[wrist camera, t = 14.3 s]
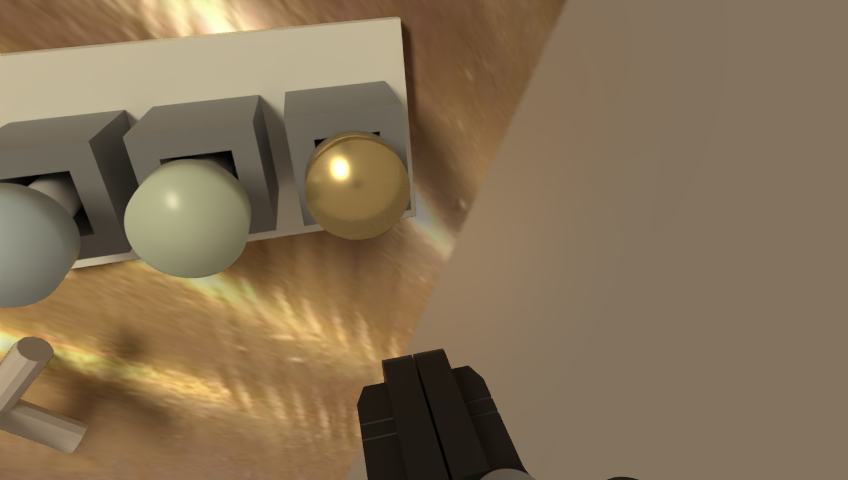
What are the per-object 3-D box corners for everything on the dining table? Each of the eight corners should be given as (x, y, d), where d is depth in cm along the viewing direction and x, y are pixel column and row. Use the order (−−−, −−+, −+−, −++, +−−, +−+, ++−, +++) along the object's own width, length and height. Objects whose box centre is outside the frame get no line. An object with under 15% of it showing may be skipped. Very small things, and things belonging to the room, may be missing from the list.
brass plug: (296, 103, 29) (296, 149, 22) (379, 94, 30) (406, 135, 23) (310, 182, 31) (314, 247, 24) (387, 171, 32) (414, 231, 25)
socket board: (-34, 56, 27) (-129, 84, 21) (396, 16, 30) (422, 30, 24) (59, 262, 33) (5, 330, 27) (412, 208, 36) (436, 258, 30)
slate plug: (5, 142, 26) (-105, 210, 19) (106, 130, 27) (36, 192, 20) (43, 226, 28) (-43, 316, 21) (135, 213, 29) (82, 296, 22)
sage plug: (156, 124, 27) (106, 183, 20) (249, 113, 28) (233, 166, 21) (181, 207, 29) (145, 286, 22) (267, 194, 30) (258, 268, 23)
